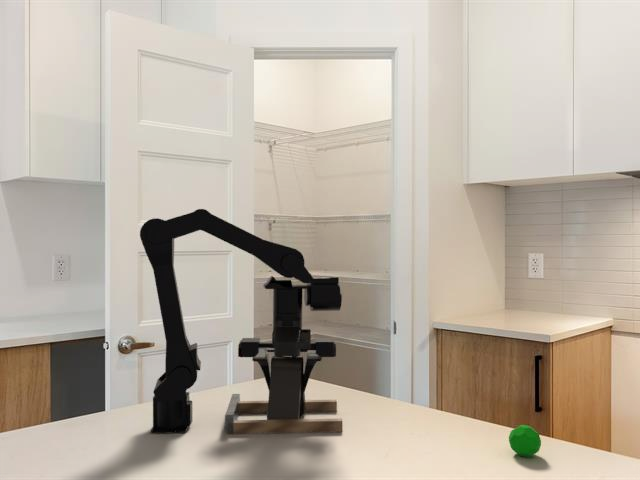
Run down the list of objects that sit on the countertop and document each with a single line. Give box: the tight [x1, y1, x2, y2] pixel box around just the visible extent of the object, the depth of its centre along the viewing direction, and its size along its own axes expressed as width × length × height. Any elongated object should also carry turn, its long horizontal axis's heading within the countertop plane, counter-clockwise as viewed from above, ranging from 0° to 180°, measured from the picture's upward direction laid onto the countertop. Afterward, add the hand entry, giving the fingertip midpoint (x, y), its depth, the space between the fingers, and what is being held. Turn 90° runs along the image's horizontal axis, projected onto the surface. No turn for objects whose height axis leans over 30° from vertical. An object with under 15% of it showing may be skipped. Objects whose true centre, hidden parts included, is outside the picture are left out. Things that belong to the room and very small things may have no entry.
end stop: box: [224, 393, 241, 435], centre depth 113 cm, size 2×14×4 cm, turn 3°
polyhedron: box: [508, 424, 542, 458], centre depth 96 cm, size 5×5×5 cm
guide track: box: [227, 399, 343, 435], centre depth 114 cm, size 21×14×2 cm, turn 93°
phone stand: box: [266, 355, 307, 420], centre depth 114 cm, size 9×6×12 cm, turn 171°
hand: (286, 391), depth 114 cm, fingers closed on phone stand, 6 cm apart
